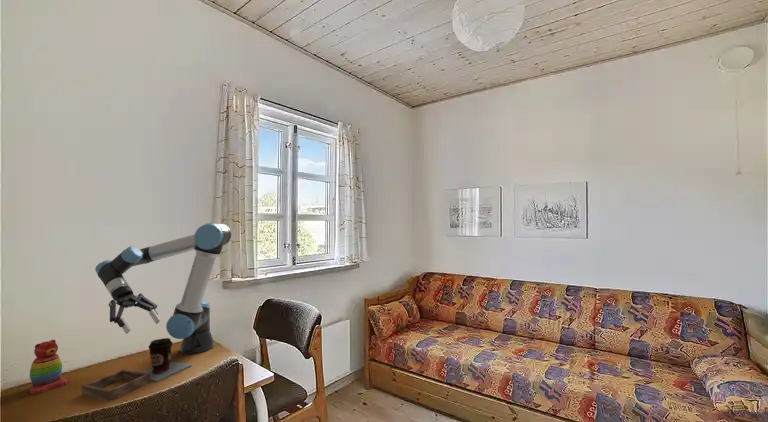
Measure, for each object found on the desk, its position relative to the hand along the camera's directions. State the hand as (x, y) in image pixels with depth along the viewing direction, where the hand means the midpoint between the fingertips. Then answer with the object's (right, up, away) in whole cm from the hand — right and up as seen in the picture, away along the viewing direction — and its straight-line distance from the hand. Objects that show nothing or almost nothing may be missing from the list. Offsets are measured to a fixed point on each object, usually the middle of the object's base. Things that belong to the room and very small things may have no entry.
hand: (144, 326), depth 159 cm
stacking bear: (-28, -19, -16) cm, 37 cm away
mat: (+11, -18, -4) cm, 21 cm away
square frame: (+2, -18, -19) cm, 26 cm away
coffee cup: (+10, -17, -5) cm, 21 cm away
